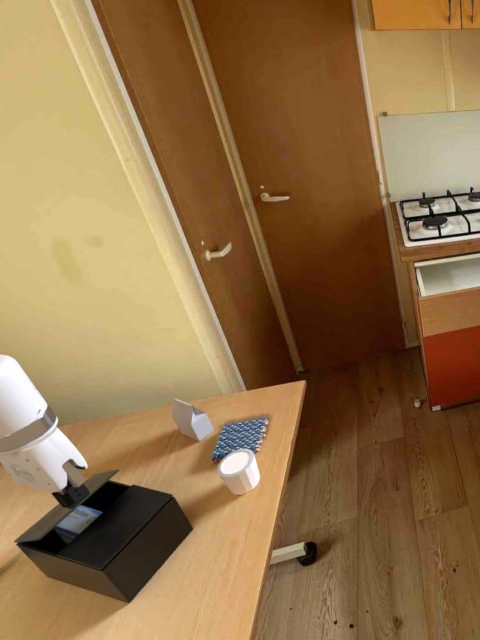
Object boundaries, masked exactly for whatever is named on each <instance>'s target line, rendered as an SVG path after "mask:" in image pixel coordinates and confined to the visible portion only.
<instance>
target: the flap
mask: <svg viewBox="0 0 480 640" xmlns="http://www.w3.org/2000/svg"><path fill="white" fill-rule="evenodd" d="M119 472H120V469H119V468H116V469H111V470H106V471H102V472H98V473H94V474H92V475H91V476H89V478H87V481H86V482H85V483H84V485H85V486H86V487H87V489H88V490H89V491H90V492H89V494H88V495H87V496H86V497H85V498H84V499H82V500H81V501H80V502H79V503H78V504H77V505H75V506H74V507H73V508H72V509H68V508H64V507H62V506H61V505H60V504H59V503H57V504H56V505H55V506H54V507H53V508H51V509H50V510H49V511H48V512H47V513H46V514H44V515H43V516H42V517H40V519H38V520H37V521H36V522H35V523H34V524H32V526H30V527H29V528H27V530H25V531H24V532H22V533H21V534H20V535H19V536H18V537H17V538H16V539H14V540H13V542H14V544H17V543H18V542H27V541H37V540H41V539H42V538H43V537H44V536H45V535H46V534H47V533H49V532H50V531H51V530H52V529H53V528H54V527H55V526H57V525H58V524H59V523H60V522H61V521H62V520H63V519H65V518H66V517H67V516H68V515H69V514H70V513H71V512H73V511H74V510H75V509H76V508H77V507H78V506H80V505H81V504H82V503H83V502H84V501H85V500H86V499H88V498H89V497H90V496H91V495H92V494H93V493H94V492H96V491H97V490H98V489H99V488H100V487H101V486H102V485H104V484H105V483H106V482H107V481H108V480H111V479H112V478H113V477H114V476H116V474H118V473H119Z"/></svg>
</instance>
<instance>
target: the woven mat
mask: <svg viewBox="0 0 480 640" xmlns="http://www.w3.org/2000/svg"><path fill="white" fill-rule="evenodd" d="M268 425H269V420H268V419H267V417H265V416H264V417H260V418H257V419H256V418H253V419H250V420H248V419H247V420H245V421H244V420H243V421H239V422H232V423H229V424H226V423H225V424H224V427H222V428H221V431H220V434H218V439H217V442H216V444H215V446H214V450H213V452H212V454H211V458H210V462H213V463H214V462H221V460H223V459H224V458H225V457H226V456H227V455H228V454H230V453H232V452H233V451H236V450H239V449H249V450H252V452H253V453H254V455H255V454H257V453H259V452H260V451H261V447H262V446H261V444H262V443H263V438H265V437H266V434H265V433H266V431H267V426H268Z"/></svg>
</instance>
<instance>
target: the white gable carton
mask: <svg viewBox="0 0 480 640" xmlns="http://www.w3.org/2000/svg"><path fill="white" fill-rule="evenodd" d="M172 401H173V406H172V413H171V417H172V419H173V420H174V423H175V425H176V426H177V428H178V431H179V433H180V434H181V435H184V436H186V437H189V438H191V439H193V440H195V441H197V442H202V440H205V438H207V436H209V435H210V434H211V433H213V432H214V431H215V429H214V426H213V424H212V422H211V420H210V418H209V416H208V413H207V412H206V411H203V410H200V409H198V408H197V407H196V406H195V405H194V404H191V403H188V402H187V401H183V400H181V399H179V398H176V397H175V398H173V399H172Z"/></svg>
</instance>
